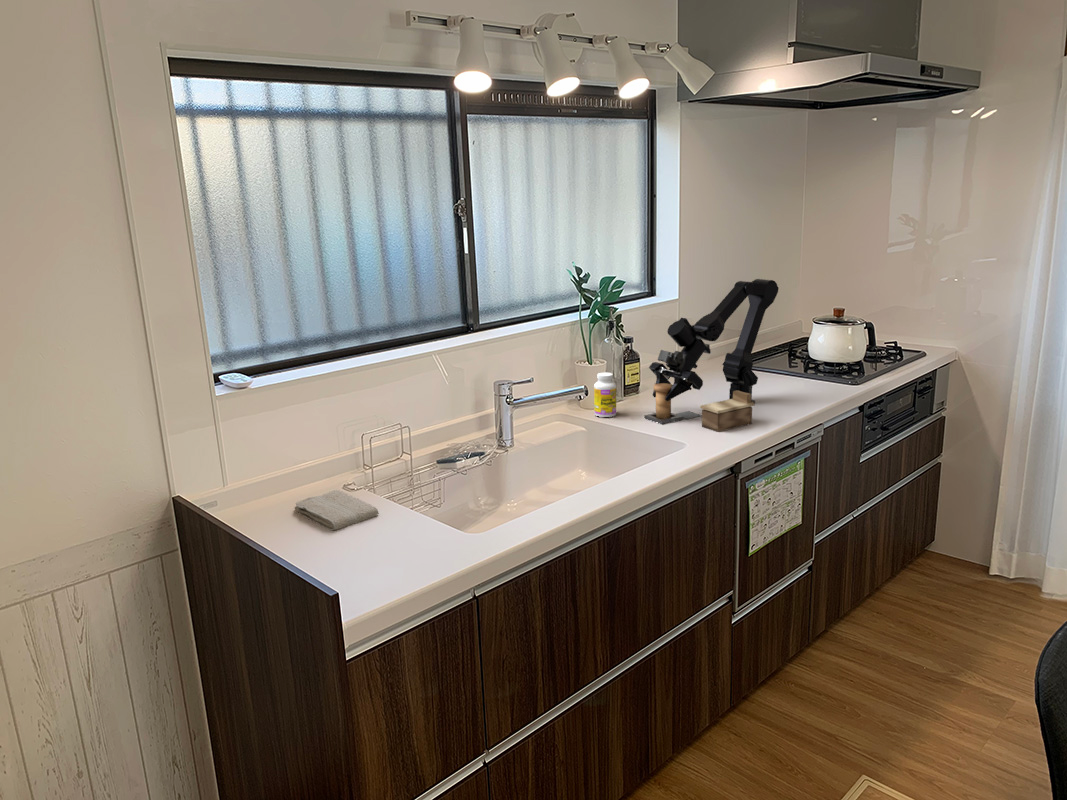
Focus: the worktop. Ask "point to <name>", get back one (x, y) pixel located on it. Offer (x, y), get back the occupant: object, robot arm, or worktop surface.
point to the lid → (730, 403)
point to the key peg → (662, 400)
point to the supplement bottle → (605, 395)
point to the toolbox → (726, 419)
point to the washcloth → (335, 509)
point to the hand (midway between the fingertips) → (659, 398)
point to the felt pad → (689, 415)
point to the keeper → (673, 418)
